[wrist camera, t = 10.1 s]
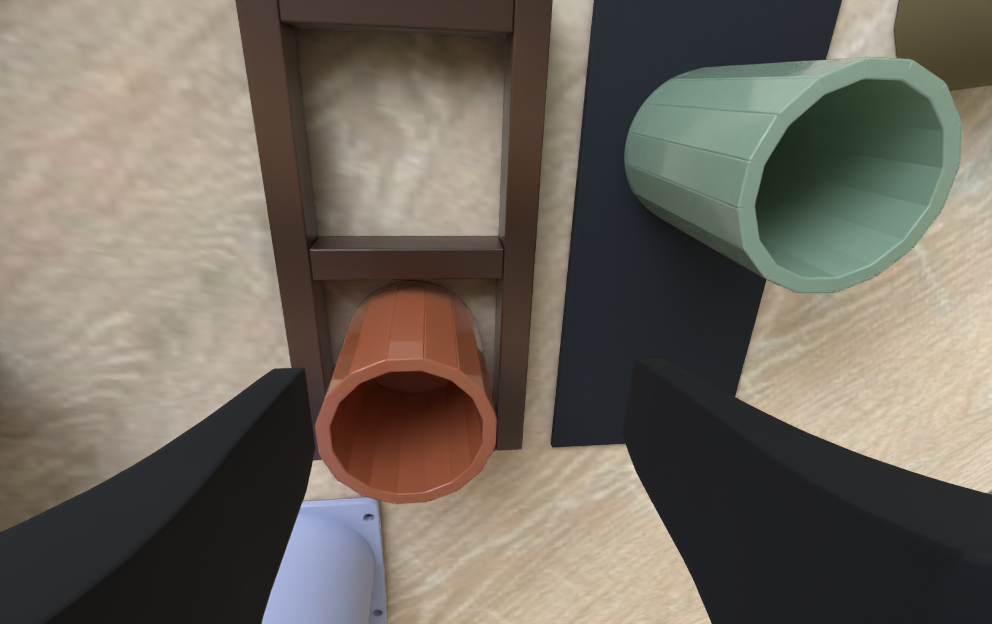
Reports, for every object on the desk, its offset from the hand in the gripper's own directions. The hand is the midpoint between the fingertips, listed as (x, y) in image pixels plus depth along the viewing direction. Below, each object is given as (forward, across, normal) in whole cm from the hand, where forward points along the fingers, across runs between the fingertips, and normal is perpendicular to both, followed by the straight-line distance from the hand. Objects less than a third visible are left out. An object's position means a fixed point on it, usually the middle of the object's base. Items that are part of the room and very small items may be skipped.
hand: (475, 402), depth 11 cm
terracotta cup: (+10, +2, +4) cm, 11 cm away
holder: (+10, +2, 0) cm, 10 cm away
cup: (+10, -9, -5) cm, 14 cm away
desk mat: (+10, -9, 0) cm, 14 cm away
